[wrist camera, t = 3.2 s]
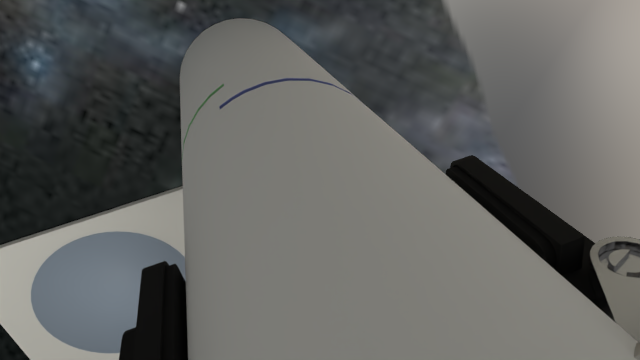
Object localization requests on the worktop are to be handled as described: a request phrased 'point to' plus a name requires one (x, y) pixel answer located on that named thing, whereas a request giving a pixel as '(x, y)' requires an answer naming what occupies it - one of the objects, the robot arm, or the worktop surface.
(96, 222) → the white flat plate
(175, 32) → the worktop surface
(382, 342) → the cylindrical container
